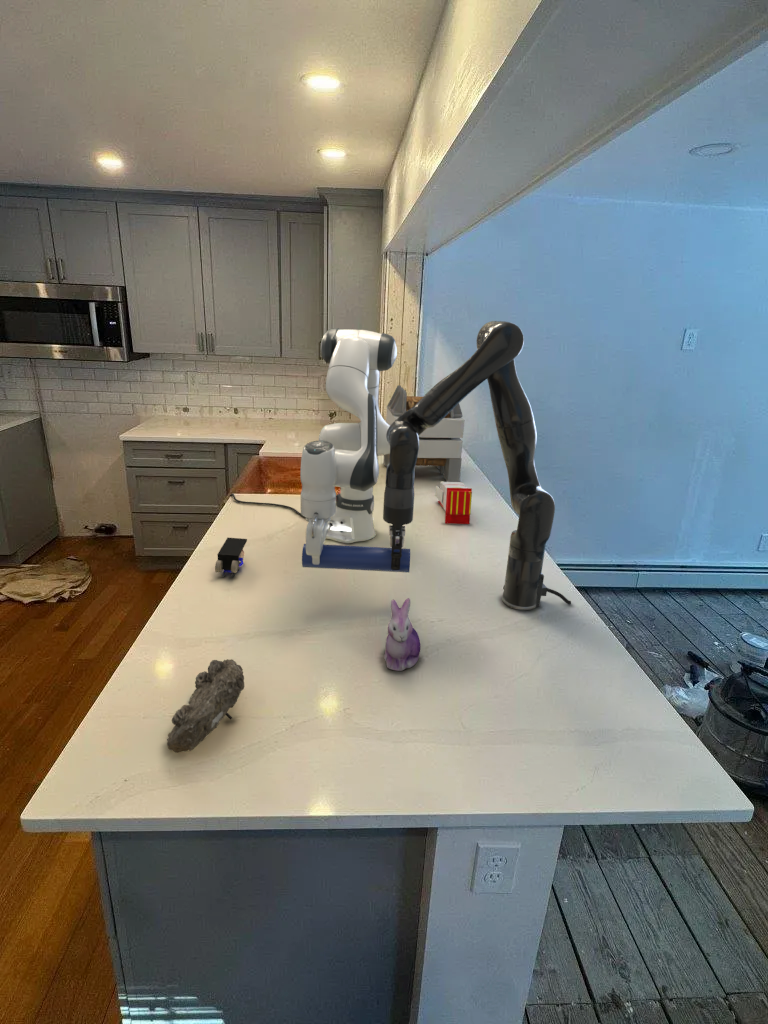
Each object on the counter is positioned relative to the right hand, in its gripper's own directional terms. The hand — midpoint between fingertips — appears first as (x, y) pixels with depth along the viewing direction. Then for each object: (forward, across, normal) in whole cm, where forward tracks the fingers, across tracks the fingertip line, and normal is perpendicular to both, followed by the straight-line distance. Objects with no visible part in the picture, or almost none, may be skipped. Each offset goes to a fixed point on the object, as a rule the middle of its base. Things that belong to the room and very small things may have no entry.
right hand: (395, 563), depth 147 cm
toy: (+13, +78, -23) cm, 82 cm away
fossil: (+13, -46, +34) cm, 59 cm away
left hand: (-1, 0, +20) cm, 20 cm away
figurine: (+13, -24, -2) cm, 28 cm away
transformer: (+13, +132, -13) cm, 133 cm away
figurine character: (+13, +18, +48) cm, 52 cm away
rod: (+2, 0, +10) cm, 10 cm away
